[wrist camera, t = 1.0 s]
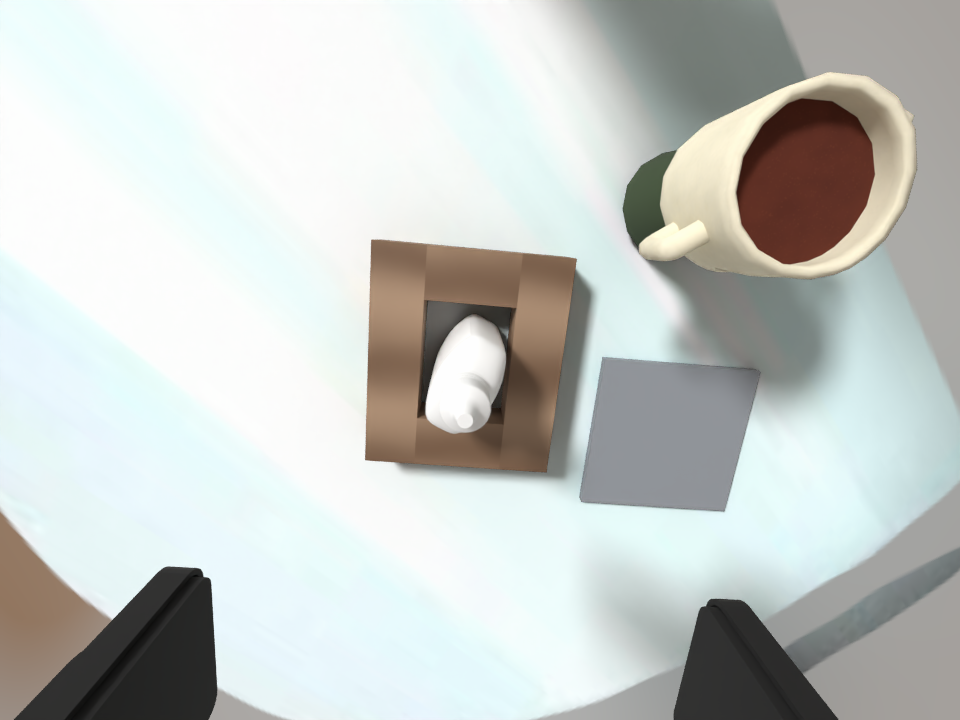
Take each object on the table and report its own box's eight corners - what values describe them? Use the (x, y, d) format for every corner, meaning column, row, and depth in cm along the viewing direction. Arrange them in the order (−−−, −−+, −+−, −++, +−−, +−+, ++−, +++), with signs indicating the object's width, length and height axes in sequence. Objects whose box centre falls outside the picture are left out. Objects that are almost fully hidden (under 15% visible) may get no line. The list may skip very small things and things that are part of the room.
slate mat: (602, 356, 31) (605, 359, 31) (755, 369, 32) (760, 371, 31) (579, 497, 34) (581, 501, 33) (719, 506, 35) (724, 510, 34)
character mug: (614, 297, 30) (719, 339, 18) (566, 199, 28) (645, 168, 16) (765, 213, 29) (993, 193, 16) (725, 106, 27) (946, -7, 15)
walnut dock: (380, 239, 29) (371, 239, 26) (565, 256, 29) (576, 258, 26) (374, 440, 32) (365, 460, 29) (539, 451, 33) (546, 472, 30)
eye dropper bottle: (413, 347, 31) (381, 412, 19) (484, 304, 30) (495, 345, 18) (447, 398, 32) (436, 490, 20) (516, 358, 31) (546, 429, 19)
